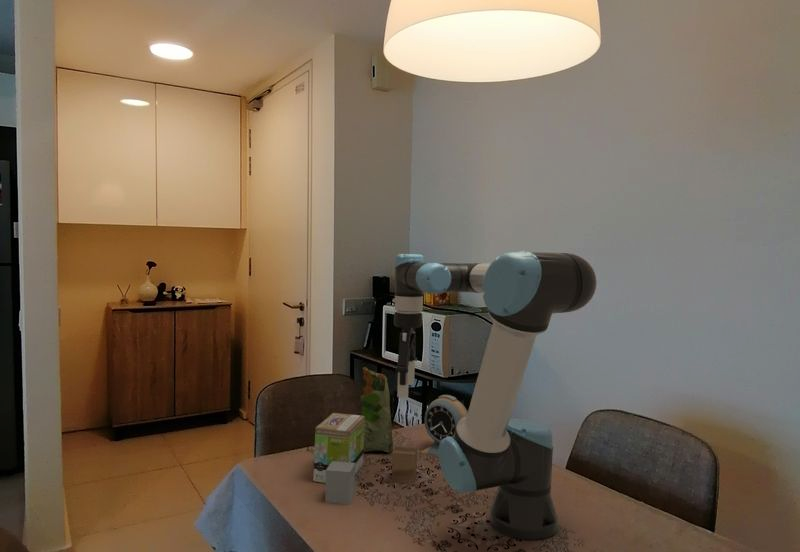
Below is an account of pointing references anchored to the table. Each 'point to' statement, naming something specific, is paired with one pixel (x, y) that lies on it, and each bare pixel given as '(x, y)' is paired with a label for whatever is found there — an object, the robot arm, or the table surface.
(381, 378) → the pouch
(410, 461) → the walnut block
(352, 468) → the grey block
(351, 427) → the tea box
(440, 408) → the alarm clock
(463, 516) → the table surface
